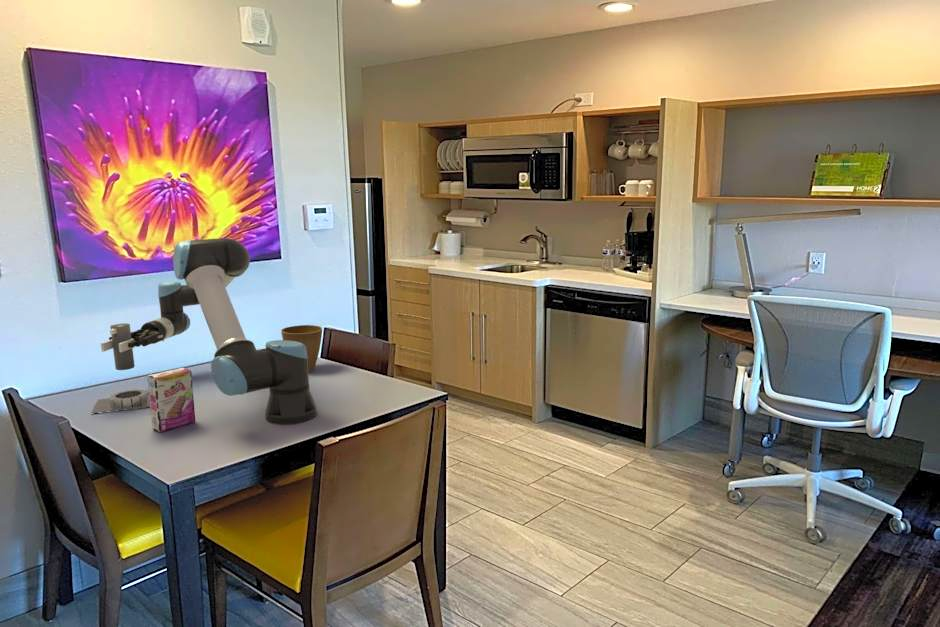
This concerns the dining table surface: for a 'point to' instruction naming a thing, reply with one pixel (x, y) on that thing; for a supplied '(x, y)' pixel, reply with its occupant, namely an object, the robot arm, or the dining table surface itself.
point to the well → (123, 401)
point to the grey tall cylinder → (118, 336)
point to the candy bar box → (171, 399)
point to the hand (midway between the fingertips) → (111, 347)
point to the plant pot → (305, 340)
